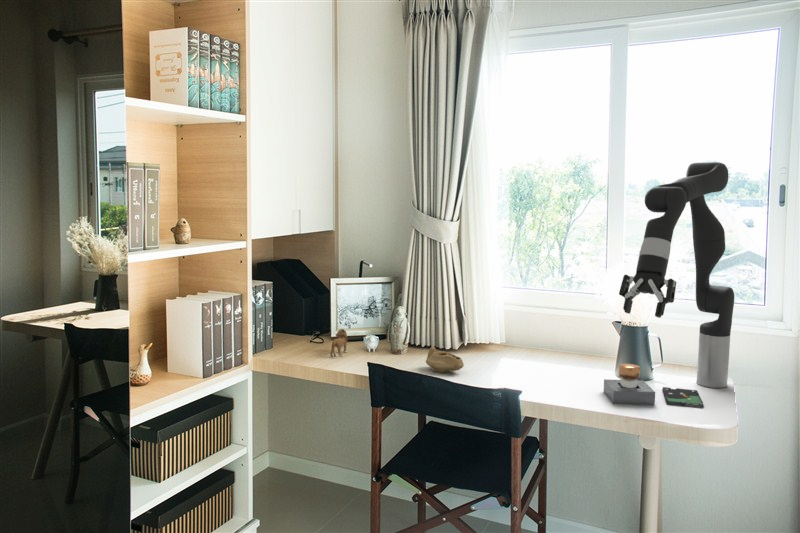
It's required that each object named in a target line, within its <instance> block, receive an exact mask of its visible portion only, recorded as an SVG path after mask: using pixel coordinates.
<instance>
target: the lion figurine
mask: <svg viewBox="0 0 800 533" xmlns="http://www.w3.org/2000/svg"><path fill="white" fill-rule="evenodd" d="M334 336H335V337H336V338H334V339H333V340H332V342H331V350H330V356H333V357H334V358H335V357H336V358H337V356H336V352H335V348H337V351H338V352H337V353H338V354H337V355H343V354H342V353H341V349H342V347H343V352H344V351H347V344H348V341H349V340H348V339H349V338H348V334H347V330H345V329H343V328H339V329H338V330H337V332H336V333H335V335H334ZM330 356H329V357H330Z"/></svg>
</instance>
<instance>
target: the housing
mask: <svg viewBox="0 0 800 533" xmlns="http://www.w3.org/2000/svg"><path fill="white" fill-rule="evenodd" d="M620 385H621V379H603V393H604V395H605V396H606V398H607V399H608V400H609V401H610V402H611V404H612V405H625V406H655V403H656V402H655V401H656V391H655V390H654V389H653V388H652V387H650V385H649V384H648V383H646V382H645V381H644V380H639V379H638V380H637V388H621V387H620Z"/></svg>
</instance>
